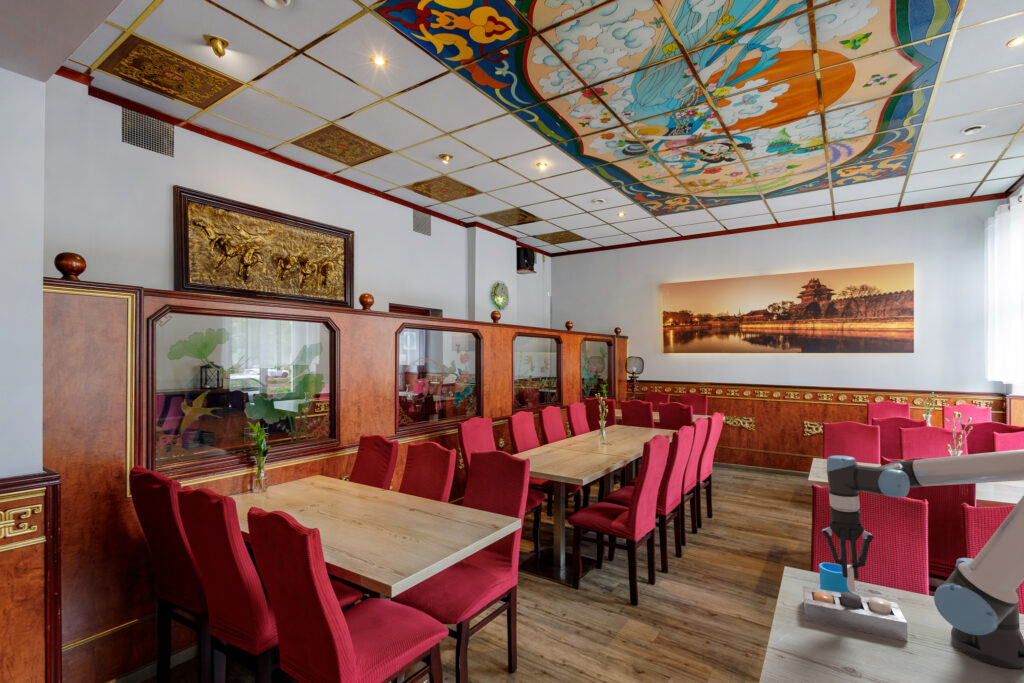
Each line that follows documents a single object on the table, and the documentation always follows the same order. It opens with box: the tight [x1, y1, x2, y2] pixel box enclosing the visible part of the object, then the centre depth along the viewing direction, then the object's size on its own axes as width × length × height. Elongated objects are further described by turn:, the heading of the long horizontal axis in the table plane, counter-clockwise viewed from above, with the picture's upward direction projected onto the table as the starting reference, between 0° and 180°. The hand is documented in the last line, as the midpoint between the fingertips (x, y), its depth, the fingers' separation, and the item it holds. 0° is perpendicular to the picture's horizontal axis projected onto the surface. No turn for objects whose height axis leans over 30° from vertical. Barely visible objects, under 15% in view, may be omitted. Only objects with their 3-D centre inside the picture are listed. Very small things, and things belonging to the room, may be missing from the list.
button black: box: [841, 591, 862, 609], centre depth 144 cm, size 5×5×4 cm
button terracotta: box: [814, 592, 833, 604], centre depth 147 cm, size 5×5×4 cm
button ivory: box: [868, 596, 891, 615], centre depth 140 cm, size 5×5×4 cm
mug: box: [818, 562, 850, 593], centre depth 161 cm, size 12×8×8 cm
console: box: [802, 585, 909, 642], centre depth 143 cm, size 24×12×5 cm, turn 62°
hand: (851, 588), depth 143 cm, fingers closed
